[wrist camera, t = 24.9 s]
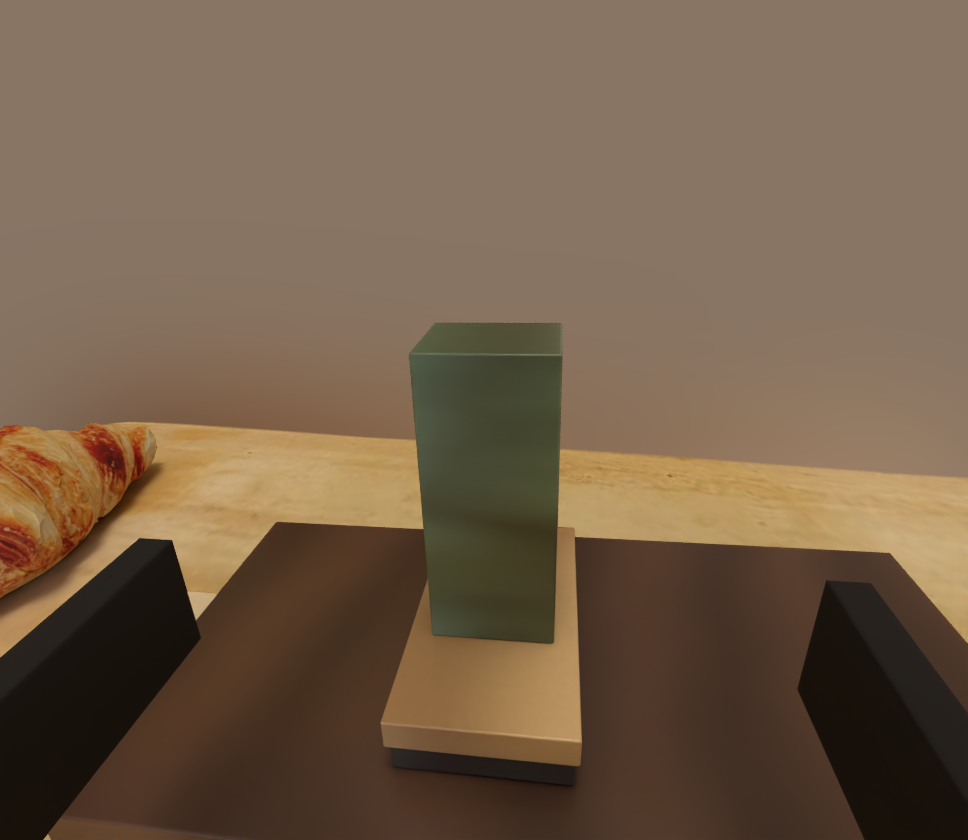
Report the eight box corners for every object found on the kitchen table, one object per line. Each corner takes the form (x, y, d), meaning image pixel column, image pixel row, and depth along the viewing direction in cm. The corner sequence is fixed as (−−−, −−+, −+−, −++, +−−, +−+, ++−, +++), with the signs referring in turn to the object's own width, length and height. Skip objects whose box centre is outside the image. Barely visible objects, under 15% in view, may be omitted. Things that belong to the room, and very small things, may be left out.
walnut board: (880, 582, 23) (890, 552, 23) (1212, 1008, 11) (1250, 969, 11) (282, 548, 26) (276, 521, 26) (55, 851, 15) (35, 814, 14)
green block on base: (572, 565, 22) (584, 300, 18) (578, 792, 14) (603, 404, 10) (448, 558, 23) (432, 300, 19) (386, 771, 15) (332, 399, 11)
